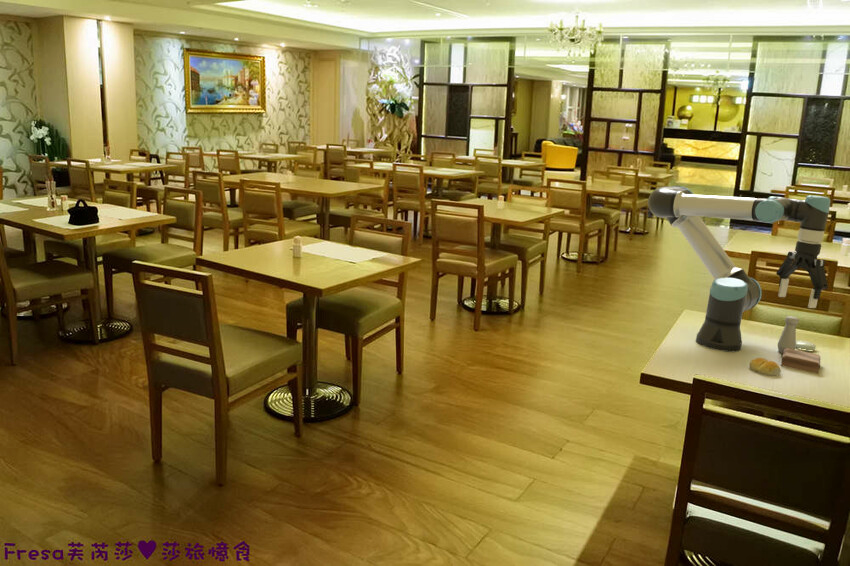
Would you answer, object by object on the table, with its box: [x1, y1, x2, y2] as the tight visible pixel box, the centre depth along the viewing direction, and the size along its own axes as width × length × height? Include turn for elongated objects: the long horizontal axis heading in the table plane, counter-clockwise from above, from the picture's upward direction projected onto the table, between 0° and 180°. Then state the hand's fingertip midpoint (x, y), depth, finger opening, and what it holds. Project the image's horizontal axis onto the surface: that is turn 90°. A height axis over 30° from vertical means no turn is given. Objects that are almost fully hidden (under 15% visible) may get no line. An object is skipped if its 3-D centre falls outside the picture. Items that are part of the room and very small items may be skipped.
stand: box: [780, 348, 821, 374], centre depth 234 cm, size 11×11×4 cm
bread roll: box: [749, 357, 782, 377], centre depth 225 cm, size 8×9×4 cm
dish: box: [796, 339, 817, 350], centre depth 254 cm, size 7×7×2 cm
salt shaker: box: [777, 315, 800, 354], centre depth 245 cm, size 6×6×13 cm
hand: (796, 302), depth 242 cm, fingers open, 13 cm apart
